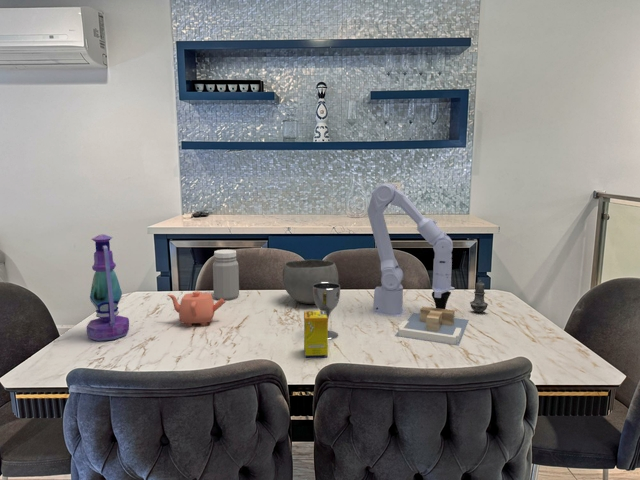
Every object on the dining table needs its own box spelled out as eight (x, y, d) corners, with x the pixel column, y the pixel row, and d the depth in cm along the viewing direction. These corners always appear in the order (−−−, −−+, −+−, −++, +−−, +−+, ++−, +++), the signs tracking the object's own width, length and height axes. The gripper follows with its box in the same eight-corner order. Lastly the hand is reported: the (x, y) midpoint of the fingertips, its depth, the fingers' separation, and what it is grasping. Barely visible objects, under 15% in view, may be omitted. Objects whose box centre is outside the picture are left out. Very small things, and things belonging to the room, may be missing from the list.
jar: (236, 301, 168) (235, 253, 165) (210, 300, 168) (208, 253, 165) (241, 294, 178) (240, 249, 175) (216, 293, 178) (215, 248, 175)
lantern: (82, 333, 134) (74, 233, 130) (123, 325, 141) (117, 230, 137) (92, 346, 124) (83, 238, 119) (136, 337, 131) (129, 235, 126)
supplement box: (303, 349, 122) (303, 310, 120) (325, 349, 123) (325, 310, 121) (304, 358, 116) (304, 317, 114) (327, 358, 117) (328, 317, 115)
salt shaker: (488, 317, 150) (490, 281, 148) (470, 315, 151) (472, 281, 149) (486, 311, 156) (488, 277, 154) (468, 310, 157) (470, 277, 155)
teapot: (208, 313, 153) (206, 284, 152) (227, 321, 145) (226, 291, 143) (168, 323, 143) (166, 292, 142) (186, 332, 135) (184, 300, 133)
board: (394, 337, 131) (394, 335, 131) (413, 314, 152) (413, 312, 152) (458, 347, 123) (458, 345, 123) (468, 321, 145) (468, 319, 145)
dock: (396, 335, 131) (396, 328, 131) (403, 326, 139) (404, 320, 138) (457, 344, 124) (457, 337, 124) (461, 334, 132) (461, 328, 131)
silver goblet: (343, 331, 136) (343, 283, 133) (335, 341, 128) (335, 290, 126) (318, 328, 138) (318, 281, 136) (309, 337, 131) (308, 287, 128)
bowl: (348, 299, 170) (348, 260, 168) (319, 313, 153) (319, 270, 151) (303, 291, 181) (303, 255, 179) (271, 304, 164) (271, 263, 162)
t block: (422, 318, 146) (422, 306, 146) (454, 322, 142) (454, 310, 142) (415, 328, 137) (415, 315, 136) (448, 333, 133) (449, 320, 132)
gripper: (451, 279, 138) (449, 321, 140) (457, 270, 151) (456, 309, 153) (428, 277, 141) (426, 318, 143) (436, 268, 154) (435, 306, 156)
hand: (440, 313), depth 148 cm, fingers closed
